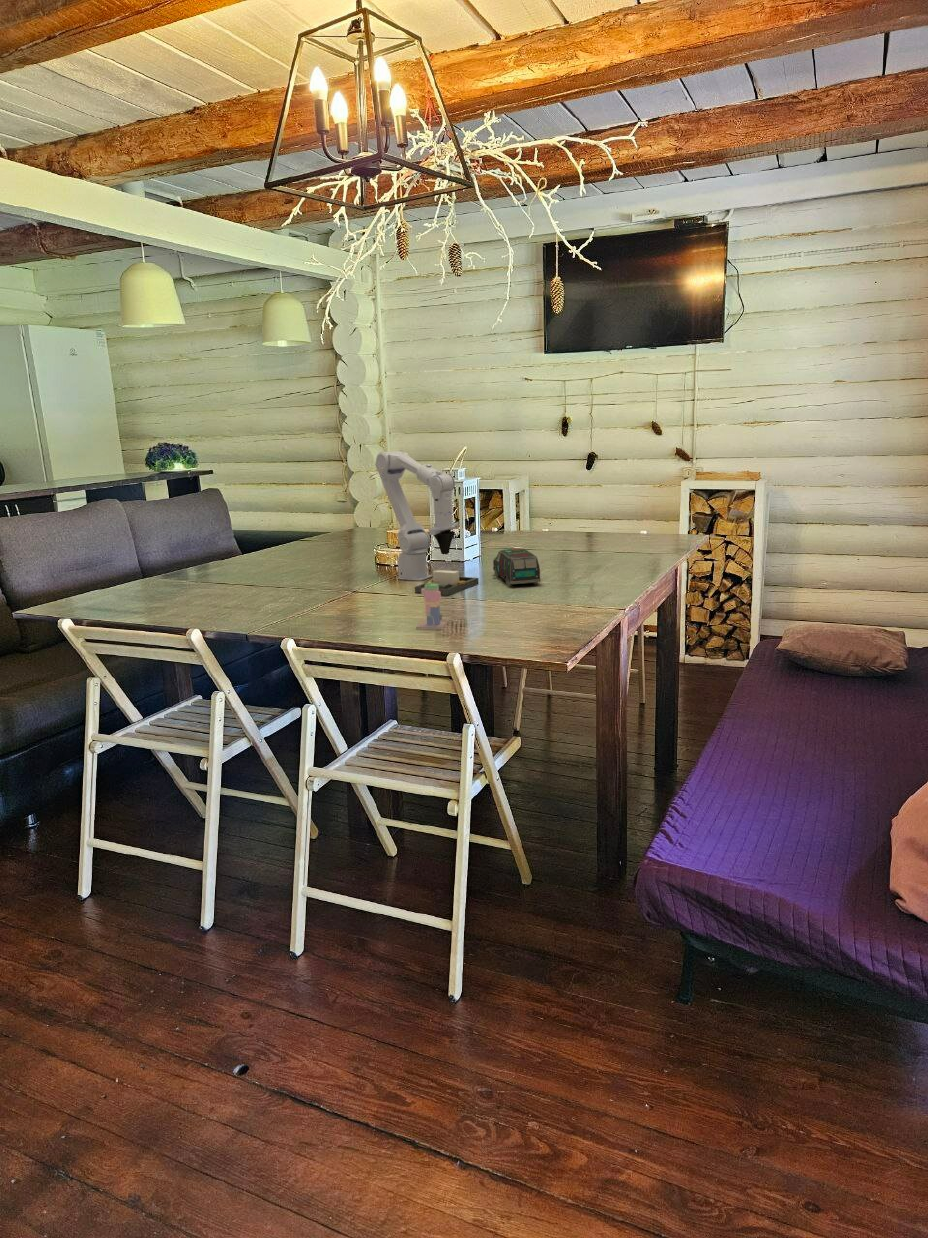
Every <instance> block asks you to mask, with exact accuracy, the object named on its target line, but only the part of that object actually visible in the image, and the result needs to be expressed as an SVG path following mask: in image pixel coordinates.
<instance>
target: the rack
mask: <svg viewBox="0 0 928 1238" xmlns="http://www.w3.org/2000/svg"><path fill="white" fill-rule="evenodd" d="M429 581H431V584H438V585H439V591H441V597H444V596H445V597H449V596H451V595H454V594H456V593H459V592H462V591H465V590H467V589H469V588H471V587H474V586H478V585H479V584H480V582H479V577H473V576H471V577H470V576H459V582H457V585H450V583H438V582H433V578H431V579H429V580H428V581H427V582H423V583H422V584H419V585H416V586H414V594H418V595H420V594H421V589H422V588H424V586H425V585H426V584H427V583H428V582H429ZM421 595H422V594H421Z"/></svg>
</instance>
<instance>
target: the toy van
mask: <svg viewBox="0 0 928 1238" xmlns="http://www.w3.org/2000/svg"><path fill="white" fill-rule="evenodd" d="M492 561H493V563H492V564H493V567H492V569H493V571H494V577H495V578H500V577H501V578H502V579H503V580H504V581H505V585H506V586H507V587H513V585H519V584H521V585H522V584H533V585H538V583H541V581H542V579H541V568H540V563H539V560H538V557H537V556H536V555H535V554H533V553H532V552H530V551H529V550H527V549H525V548H509V549H507V548H506V549H502V550H499V551H498V553H497V556H496V557H494V558H493V560H492Z"/></svg>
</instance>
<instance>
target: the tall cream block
mask: <svg viewBox="0 0 928 1238" xmlns="http://www.w3.org/2000/svg"><path fill="white" fill-rule="evenodd" d="M432 575H433V576H432V579H433V582H438V583H450V585H457V582H459V577H460V571H459V570H447V569H446V570H445V569H444V570H443V569H436V570H434V571H432Z"/></svg>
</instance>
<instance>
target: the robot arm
mask: <svg viewBox="0 0 928 1238" xmlns="http://www.w3.org/2000/svg"><path fill="white" fill-rule="evenodd" d="M374 465H375V468H376V470H377V473H378V475H379V477H380V480H381V482H382V486H383V489H384V491H385V493H386V495H387V498H388V500H389V503H390V504H391V508H392V509H393V513H394V515H395V517H396V519H397V522H398V524H399V527H400V529H399V531H398V532H397V534H396V536H397V539H398V546H399V548H400V550H401V552H400V553H399V555H398V557H397V569H398V570H397V571H398V577H397V580H403V581H404V580H405V581H407V580H408V581H415V582H416V581H418V582H421V581H424V580H426V579H430V578H433V574H432V575H431V574H428V566H427V565H428V562H427V552H428V549H429V548H430V547H431V543H432V541H431V537H430V536H433V537H435V540H436V542H437V543H438V547H439V550H440V553H441V555H449V554H450V549H451V544H452V541H453V539H454V536H455V533H456V532H455V530H458V529H459V522H453V504H452V503H453V501H452V499H453V498H452V491H454V488H455V486H456V483H455V478H454V476H453V475H452V474H450V473H443V472H442V471H440V470H437V469H435V468H434V467H433V466H432V464H431V463H428V464H427V463H425V464H423V465H422V464H420V463H419V462H418V461H417V460H415V459H414V458H412V457H411V456H410V454H409V453H408V452H406V451H404V450H396V451H381V452H379V453H377V456H376V459H375V463H374ZM405 471H409V472H411V473H412V474H415V475H416V479H417V480H418V481H420V482H421V483H423V484H425V485H426V486H428V487H429V489H430V492H431V497H432V499H433V508H434V509H433V510H434V512H433V513H434V526H433V527H430V528H428V532H427V531H426V529H425V527H424V526H423V525H422V524H420V523H418V522H416V519H415V517H414V515H413V512H412V510H411V507H410V505H409V502H408V500H407V497H406V496H405V493H404V491H403V488H402V486H401V483H400V479H401V478H402V477H403V475H404V473H405ZM453 530H454V531H453Z"/></svg>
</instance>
